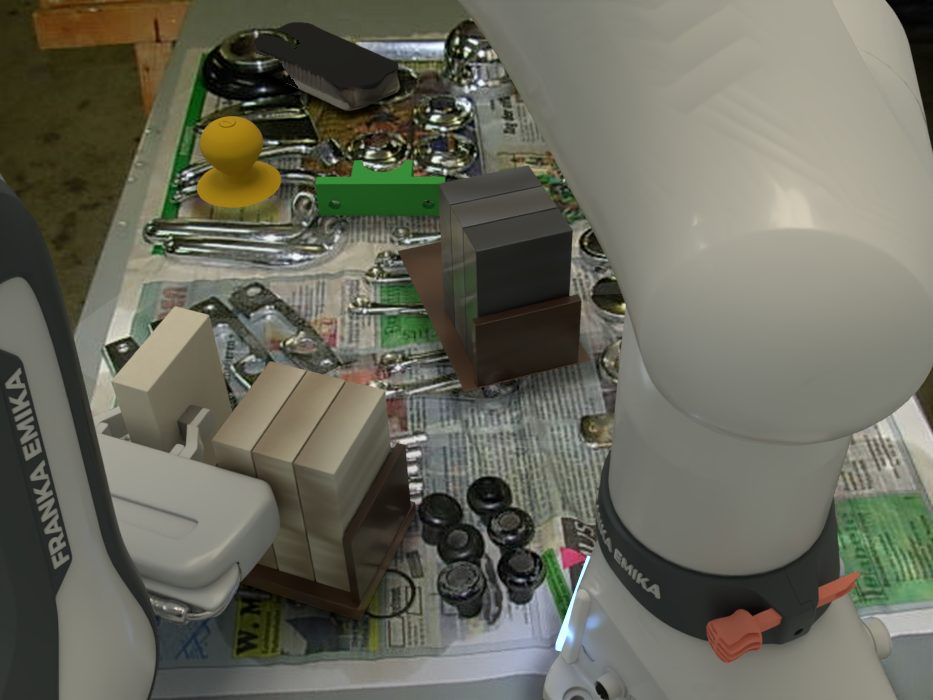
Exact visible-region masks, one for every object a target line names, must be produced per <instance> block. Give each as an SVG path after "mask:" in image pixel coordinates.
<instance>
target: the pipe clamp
mask: <svg viewBox="0 0 933 700" xmlns="http://www.w3.org/2000/svg"><path fill="white" fill-rule="evenodd" d="M444 182H446V176H415V171H414V160H413V159H405V160H404V161H403V163H402V164H401V165H400V166H399V167H397V168H395V169H393V170H387V171H377V170H376V171H375V170H371V169H369V168H367V167H366V166H365V165H364V161H363V160H361V159H359V160H358V159H357V160H356V159H355V160H354V161H353V165H352V169H351V174H350V176H316V179H315V182H314V186H315V193H316V199H317V207H318V216H320V217H328V216H329V217H337V216H338V217H339V216H341V217H342V216H343V217H345V216H346V217H349V216H350V217H351V216H353V217H356V216H357V217H363V216H364V217H381V216H382V217H393V216H394V217H406V216H407V217H412V216H413V217H429V216H430V217H440V212H439V192H438V184H440V183H444ZM334 201H336V202H337V203H336V202H334ZM426 201H431V202H426Z"/></svg>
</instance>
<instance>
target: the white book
mask: <svg viewBox="0 0 933 700" xmlns="http://www.w3.org/2000/svg"><path fill="white" fill-rule="evenodd" d="M110 382H111V386H112V388H113V392H114V394H115V398H116V400H117V403H118V406H119V407H120V410H121V413H122V416H123V419H124V422H125V425H126V428H127V431H128V436H129V439H130V442H132V443H136V444H139V445H143V446H146V447H150V448H153V449H156V450H160V451H163V452H167V453H170V452H171V451H172V449H173V448H174V447H175V445H177V444H181V445H184V447H185V446H186V442H185V441H182V438H181V434H180V432H181V430H180V429H179V427H178V423H177V420H178V419H179V418H180V416H181V415H182V414H183V413H184V412H186V409H187V408H188V406H189V405H195V406H199V407H203V408H206V409H210V410H212V411H213V414H214V418H215V422H216V424H215V429H214V431H213V432H212V434H211V435H210V436H209V438H208V439H207V440H206V442H205V443H204V444H203V446H204V463H205V464H208V465H212V466H215V465H216V464H217V459H216V455H215V451H214V448H213V444H212V439H213V438H214V436H215V435H216V434H217V432H218V431H219V430H220V428H221V427H222V425H223V424H224V423H225V421H226V420H227V419H228V417H229V416H230V415H231V413H232V412H233V410H232V405H231V401H230V397H229V393H228V388H227V384H226V380H225V376H224V371H223V368H222V363H221V359H220V354H219V350H218V346H217V342H216V337H215V333H214V329H213V325H212V320H211V316H210V315H209V314H207V313H203V312H199V311H196V310H191V309H188V308H185V307H180V306H176V305H175V306H173V308H172V309H171V310H170V311H169V312H168V313H167V315H165V317H164V318H163V319H162V320H161V322H160V323H159V324H158V325H157V326H156V327H155V329H154V330H153V331H152V332H151V334H149V336H148V337H147V338H146V340H144V342H143V343H142V344H141V345H140V346H139V347H138V348H137V350H136V351H135V352H134V354H133V355H132V356H131V357H130V358H129V359H128V361H126V363H125V364H124V365H123V366H122V367H121V368H120V370H119V371H118V372H117V373H116V374H115V376H114V377H112V379H111V381H110Z"/></svg>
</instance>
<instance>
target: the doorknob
mask: <svg viewBox="0 0 933 700" xmlns="http://www.w3.org/2000/svg"><path fill="white" fill-rule="evenodd" d="M198 144H199V145H198V146H199V152H200V153H201V155H202V157H203V158H204V159H205V161H206V162H207V163H208V164H209V165H210V166H211V167H212V168H211V169H209V170H208V171H206V172H204V173H203V174H202V176H201V177H200V179H199V180H198V182H197V184H196V191H197V192H196V193H197V195H198V196H199V197H200V199H201V200H202V201H204V202H205V203H207V204H210V205H211V206H216V207H221V208H232V209H233V208H243V207H248V206H253V205H256V204H259V203H261V202H263V201H266V200H267V199H268V198H270V197H271V196H273V195H274V194H275V193H276V192H277V191H278V189H279V188H280V186H281V183H282V175H281V173H280V172H279V170H278V169H277V168H276V167H275V166H273V165H271V164H269V163H266V162H265V161H260V160H258V159H259V157H260V156H261V154H262V152H263V151H262V150H263V147H264V138H263V135H262V132H261V130H260V129H259V128H258V127H257V125H256V124H254V122H252V121H251V120H249V119H247V118H244V117H242V116H235V115H229V116H228V115H227V116H223V117H220V118H217V119H215V120H213V121H211V122H209V124H208V125H207V126H205V128H204V129H203V131H202V133H201V136H200V138H199V143H198Z"/></svg>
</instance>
